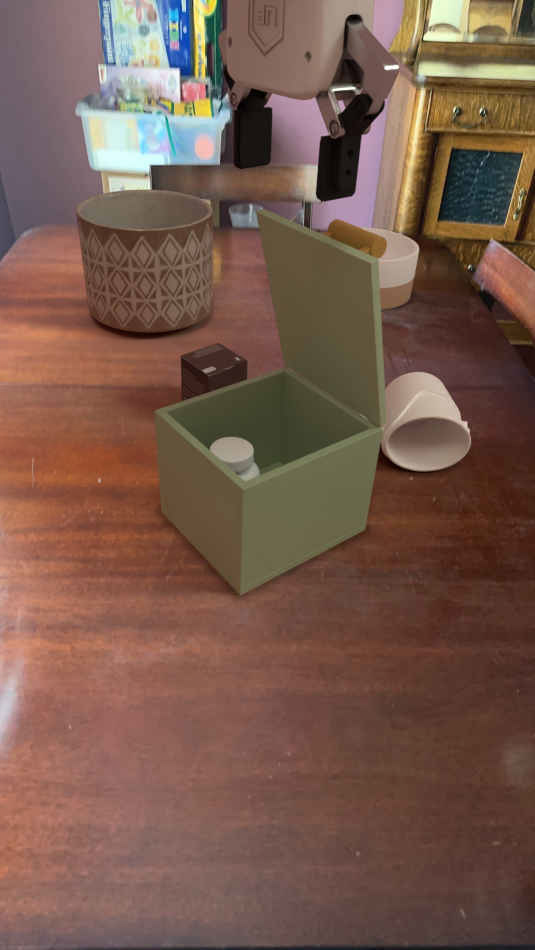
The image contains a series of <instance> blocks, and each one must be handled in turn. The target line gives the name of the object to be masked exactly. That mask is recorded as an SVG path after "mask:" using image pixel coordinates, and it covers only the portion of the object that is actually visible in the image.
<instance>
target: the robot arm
mask: <svg viewBox="0 0 535 950" xmlns="http://www.w3.org/2000/svg"><path fill="white" fill-rule="evenodd" d="M375 3H376V2H375V0H228V1H227V15H226V16H227V18H226V21H227V22H226V27H225V28H224V29H223V30H222V31H221V32H220V33H219V34H218V38H217V39H218V46H219V51H220V55H221V59H222V63H223V78H224V80H225V83H226V84H227V87H228V89H229V91H230V92H229V95H228V103H229V105H230V107H231V108H232V110H233V166H234V167H235V168H236V169H239V170H245V169H250V168H251V169H252V168H258V167H265V166H268V165H269V164H270V163H271V162H272V161H271V160H272V141H273V140H272V139H273V137H272V136H273V107H270V106H266V105H267V104H268V102H269V100H270V98H271V96H272V95H276V96H280V97H285V98H288V99H294V100H298V101H309V100H312V99H315V101H316V103H317V106H318V110H319V112H320V114H321V117H322V120H323V123H324V124H325V128H326V131H327V134H328V135H321V136H320V139H319V147H318V158H317V159H318V161H317V172H316V184H315V185H316V186H315V196H316V200H319V201H321V202H330V201H335V200H340V199H346V198H351V197H353V196H354V195H355V193H356V190H357V181H358V172H359V165H360V163H359V162H360V155H361V148H362V147H361V146H362V138H363V137H362V136H366V135H368V134H369V133H370V131H371V128H372V124H373V123H374V121H375V120H376V119H377V118H378V117H379V116H380V115H381V114H382V113H383V111H384V110H385V106H386V100H387V98H388V96H389V95H390V93H391V90H392V89H393V86H394V84H395V82H396V80H397V78H398V76H399V73H400V66H399V63H398V62H397V60H396V59H395V58H394V57H393V56H392V55H391V54H390V52H389V51H388V50H387V49H386V48H385V46H384V45H383V44H382V43H381V42H380V41H379V40H378V39H377V37H376V36H375V35H374V34H373V30H374V18H375ZM340 101H342V103H343V105H344V109H343V111H342V110H341V107H340V104H339V102H340Z"/></svg>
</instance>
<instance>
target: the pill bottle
mask: <svg viewBox="0 0 535 950" xmlns="http://www.w3.org/2000/svg"><path fill="white" fill-rule="evenodd" d="M210 451H211V452H212V453H213V454H214V455H216V456H217V457H218V458H219V459H220V460H221V461H222V462H224V463H225V464H226V465H227V466H228V467H229V468H230V469H232V470H233V471H234V472H235V473H236V474H237V475H238V476H240V477H241V478H242V479H243V480H244V481H245V482H246V481H248V480H250V479H253V478H255V477H257V476H260V471H259V468H258V466H257V465H256V464H255V463H254V462H253V461H254V449H253V446H252V445H251V443H249V442H248V441H246V440H244V439H242V438H238V437H225V438H221V439H218V440H216V441H215V442H214V443H213V444H212V445H211V447H210Z"/></svg>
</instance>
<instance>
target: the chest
mask: <svg viewBox="0 0 535 950" xmlns="http://www.w3.org/2000/svg"><path fill="white" fill-rule="evenodd" d="M153 414H154V424H155V425H154V426H155V441H156V443H155V444H156V457H157V470H158V471H157V472H158V484H159V500H160V513H162V514H163V515H164V516H165V518H167V520H168V521H169V522H171V524H172V525H173V526H174V527H175V528H176V529H177V530H178V531H179V532H180V534H182V536H183V537H184V538H185V539H186V540H187V541H188V542H189V543H190V544H191V545H192V547H194V548H195V549H196V550H197V552H198V553H200V555H201V556H202V557H203V558H204V559H205V560H206V561H207V562H208V563H209V564H210V565H211V567H212V568H214V570H215V571H216V572H217V573H218V574H219V575H220V576H221V577H222V578H223V579H224V580H225V581H226V582H227V584H228V585H229V586H230V587H231V588H232V589H233V590H234V591H235V592H236V593H237V594H238V595H239V596H242V595H245V594H246V593H248V592H250V591H252V590H254V589H256V588H258V587H260V586H262V585H264V584H265V583H267V582H269V581H272V580H273V579H275V578H277V577H279V576H281V575H282V574H284V573H286V572H288V571H290V570H292V569H294V568H296V567H298V566H299V565H302V564H304V563H305V562H307V561H309V560H311V559H313V558H315V557H316V556H318V555H320V554H322V553H325V552H326V551H328V550H330V549H332V548H334V547H336V546H337V545H339V544H342V543H343V542H345V541H347V540H349V539H351V538H353V537H355V536H357V535H358V534H360V533H363V532H364V531H365V530H366V528H367V527H366V526H367V521H368V516H369V510H370V504H371V498H372V492H373V487H374V482H375V477H376V471H377V465H378V459H379V454H380V453H379V452H380V448H381V443H380V442H381V437H382V431H383V429H381V428H380V426H378V425H377V424H375V423H373V422H372V421H370V420H369V419H368V420H367V419H366V418H364V417H363V416H361V415H360V414H358V412H357V411H355V410H354V409H352V408H351V407H349V406H347V405H346V404H344V403H343V402H341V401H340V400H338V399H337V398H335V397H334V396H332V395H331V394H329V393H328V392H326V391H324V390H323V389H321V388H320V387H318V386H317V385H315V384H314V383H312V382H311V381H309V380H308V379H306V378H305V377H303V376H301V375H300V374H298V373H297V372H295V371H294V370H292V369H291V368H289V367H288V366H283V367H281V368H278V369H274V370H271V371H268V372H266V373H263V374H259V375H257V376H255V377H251V378H247V380H245V381H242V382H239V383H236V384H233V385H230V386H227V387H224V388H220V389H217V390H214V391H211V392H208V393H205V394H202V395H199V396H196V397H193V398H190V399H187V400H184V401H182V400H181V401H179V402H176V403H173V404H170V405H167V406H164V407H161V408H157V409H154V410H153ZM225 437H238V438H242V439H244V440H246V441H248V442H249V443H251V445H252V446H253V449H254V461H253V462H254V463H255V464H256V465H257V466H258V468H259V471H260V476H257V477H255V478H253V479H250V480H248V481H246V482H245V481H244V480H243V479H242V478H241V477H240V476H238V475H237V474H236V473H235V472H234V471H233V470H232V469H230V468H229V467H228V466H227V465H226V464H225V463H224V462H222V461H221V460H220V459H219V458H218V457H217V456H216V455H214V454H213V453H212V452H211V451H210V447H211V445H212V444H213V443H214V442H215V441H216V440H218V439H221V438H225Z"/></svg>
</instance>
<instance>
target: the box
mask: <svg viewBox="0 0 535 950" xmlns="http://www.w3.org/2000/svg"><path fill="white" fill-rule="evenodd" d="M179 358H180V378H181V401H184V400H187V399H190V398H193V397H196V396H199V395H202V394H205V393H208V392H211V391H214V390H217V389H220V388H224V387H227V386H230V385H233V384H236V383H239V382H242V381H245V380H248V360H247V359H246V358H244V357H243V356H241V355H239V354H237V353H236V352H234V351H233V350H231V349H230V348H228V347H226V346H225V345H223V344H221V343H220V342H217V343H214V344H212V345H208V346H205V347H202V348H199V349H196V350H193V351H189V352H187V353H183V354H181V355H180V356H179Z"/></svg>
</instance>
